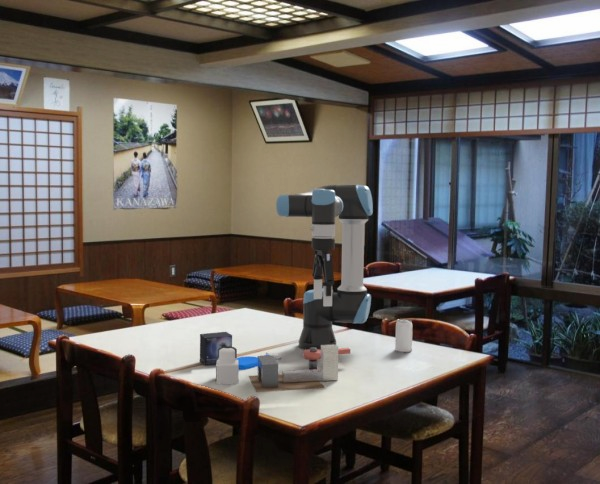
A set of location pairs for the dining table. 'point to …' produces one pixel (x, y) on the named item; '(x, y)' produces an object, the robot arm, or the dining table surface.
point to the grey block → (268, 371)
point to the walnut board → (285, 385)
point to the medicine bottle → (227, 366)
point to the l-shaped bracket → (324, 374)
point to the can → (403, 335)
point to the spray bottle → (252, 361)
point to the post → (312, 364)
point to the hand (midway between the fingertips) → (322, 302)
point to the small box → (213, 346)
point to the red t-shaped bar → (316, 353)
